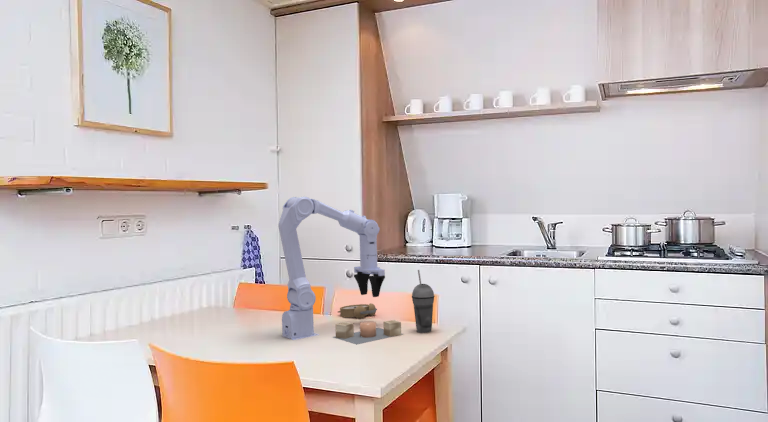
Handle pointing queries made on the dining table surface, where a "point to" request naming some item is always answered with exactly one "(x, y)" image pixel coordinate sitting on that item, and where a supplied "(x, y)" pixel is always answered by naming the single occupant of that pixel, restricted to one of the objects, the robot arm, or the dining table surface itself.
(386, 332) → the birch cube
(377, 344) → the dining table surface
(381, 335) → the slate mat
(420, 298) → the beverage cup
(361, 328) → the tan rounded piece
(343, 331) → the birch cube
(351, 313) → the alarm clock
